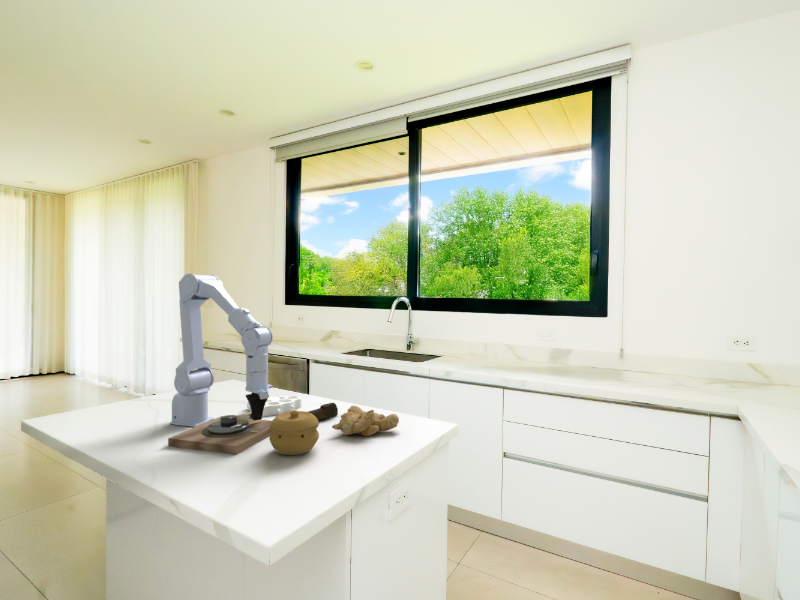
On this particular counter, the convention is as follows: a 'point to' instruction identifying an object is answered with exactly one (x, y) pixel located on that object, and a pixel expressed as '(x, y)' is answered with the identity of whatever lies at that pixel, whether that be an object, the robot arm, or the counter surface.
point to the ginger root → (365, 422)
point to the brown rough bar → (325, 411)
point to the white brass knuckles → (280, 405)
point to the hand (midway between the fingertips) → (257, 419)
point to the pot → (294, 432)
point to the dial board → (222, 438)
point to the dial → (230, 424)
